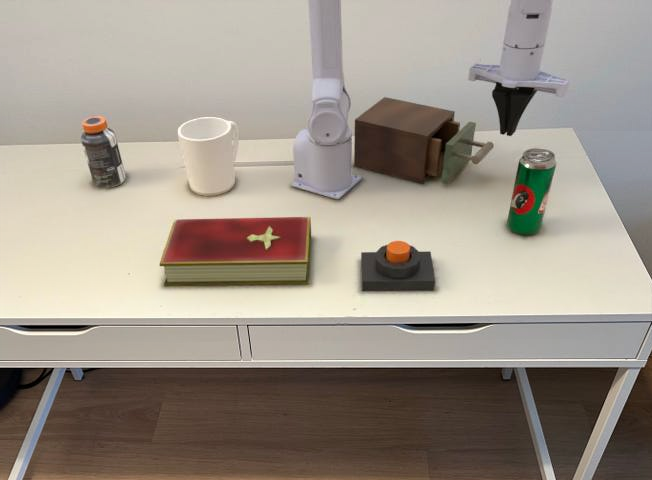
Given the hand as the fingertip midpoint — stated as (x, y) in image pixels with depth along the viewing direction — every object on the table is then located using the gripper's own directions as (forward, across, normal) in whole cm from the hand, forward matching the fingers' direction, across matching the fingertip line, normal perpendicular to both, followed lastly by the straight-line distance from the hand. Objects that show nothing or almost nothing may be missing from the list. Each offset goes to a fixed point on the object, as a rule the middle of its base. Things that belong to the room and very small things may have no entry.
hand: (507, 132), depth 104 cm
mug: (+10, -43, -22) cm, 49 cm away
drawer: (+9, -11, 0) cm, 14 cm away
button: (+6, -3, -30) cm, 31 cm away
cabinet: (+9, -18, 0) cm, 20 cm away
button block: (+9, -3, -30) cm, 32 cm away
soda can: (+10, +8, -10) cm, 16 cm away
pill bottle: (+10, -61, -31) cm, 69 cm away
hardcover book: (+10, -25, -39) cm, 47 cm away
